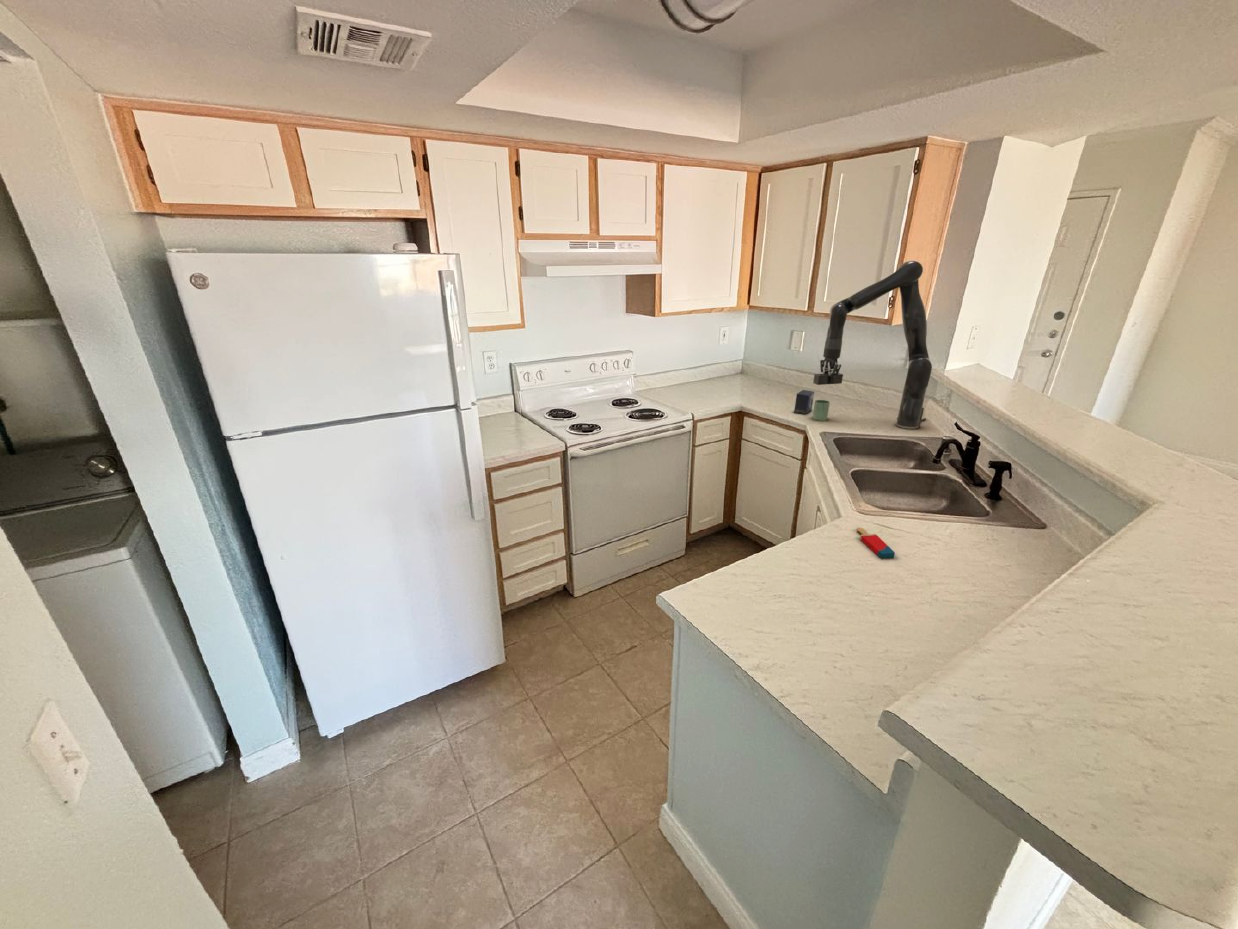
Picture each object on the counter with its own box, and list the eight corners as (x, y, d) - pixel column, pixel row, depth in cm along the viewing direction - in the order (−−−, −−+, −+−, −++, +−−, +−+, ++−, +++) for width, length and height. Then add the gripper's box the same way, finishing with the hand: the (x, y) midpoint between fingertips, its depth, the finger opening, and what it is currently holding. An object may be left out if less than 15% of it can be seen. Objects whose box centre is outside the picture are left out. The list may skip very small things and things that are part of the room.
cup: (822, 416, 257) (824, 399, 253) (829, 420, 251) (832, 402, 247) (810, 417, 256) (812, 400, 252) (817, 421, 249) (820, 403, 246)
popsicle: (866, 525, 147) (896, 552, 134) (865, 530, 148) (895, 557, 134) (851, 526, 147) (880, 553, 133) (851, 530, 148) (879, 558, 134)
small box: (805, 414, 260) (808, 395, 256) (793, 412, 264) (795, 393, 260) (812, 410, 268) (815, 391, 264) (800, 408, 271) (802, 389, 267)
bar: (836, 381, 248) (838, 372, 247) (841, 383, 245) (843, 374, 243) (813, 383, 246) (814, 373, 244) (817, 384, 242) (819, 375, 240)
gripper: (849, 349, 233) (843, 385, 240) (831, 344, 246) (825, 379, 252) (834, 350, 232) (829, 386, 238) (817, 345, 245) (812, 380, 251)
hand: (827, 382), depth 245 cm, fingers closed on bar, 4 cm apart
